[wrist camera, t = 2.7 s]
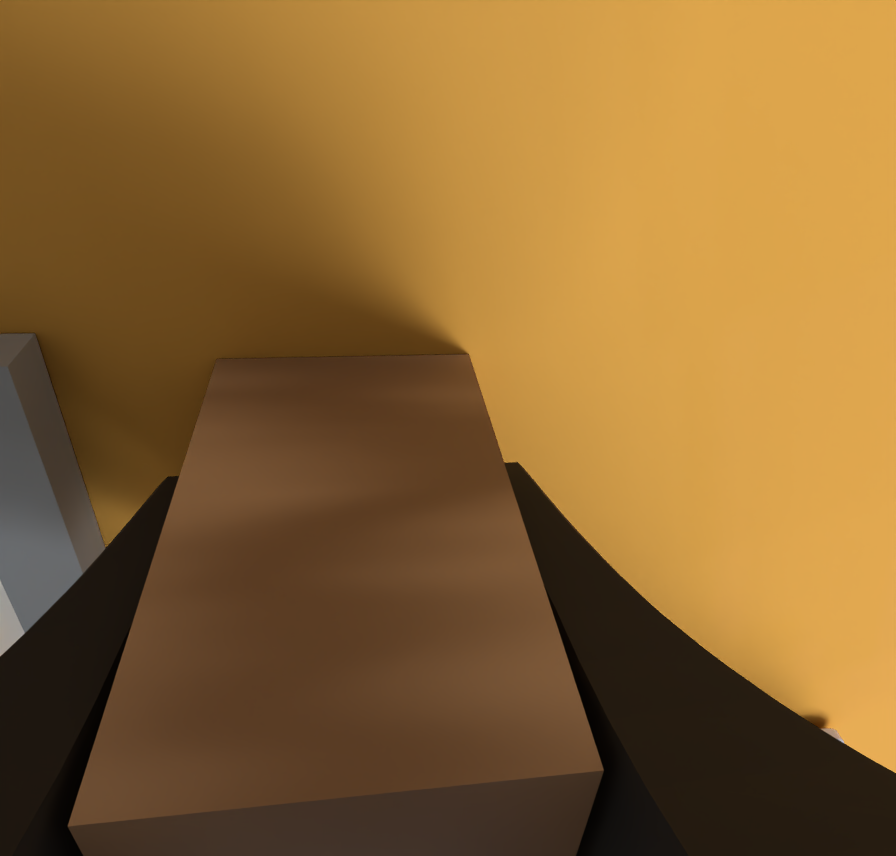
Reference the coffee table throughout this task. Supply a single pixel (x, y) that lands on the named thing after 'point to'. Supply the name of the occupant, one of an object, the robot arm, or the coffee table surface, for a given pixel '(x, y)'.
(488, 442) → the walnut block
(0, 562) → the well
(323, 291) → the coffee table surface
